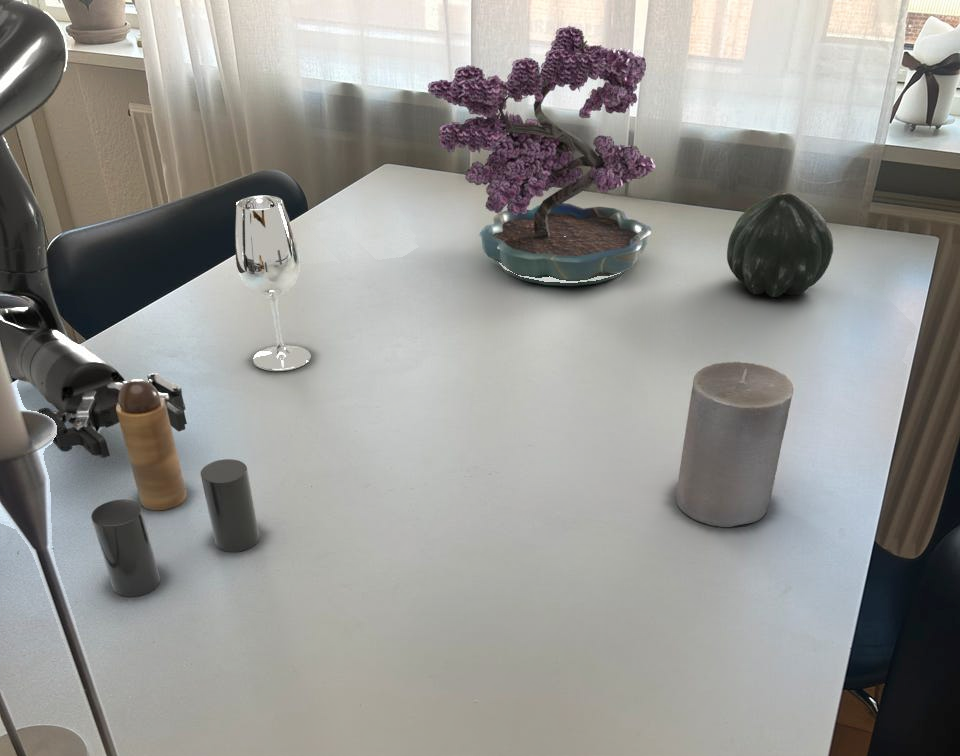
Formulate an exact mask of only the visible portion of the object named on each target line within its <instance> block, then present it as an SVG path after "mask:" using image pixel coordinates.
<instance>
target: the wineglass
mask: <svg viewBox="0 0 960 756" xmlns="http://www.w3.org/2000/svg"><path fill="white" fill-rule="evenodd" d="M235 205H236V206H235V223H234V225H235V227H234V251H235V263H236V268H237V272H238V275H239V277H240V279H241V280H242V283H244V284H245V285H246V287H248V289H250V290H251V291H252V292H254V293H255V294H257V295H260V296H262V297H265V298H267V299H268V301H269V303H270V307H271V312H272V317H273V324H274V330H275V337H276V345H274V346H271V347H266V348H264V349H262V350H260V351H258V352H257V353H256V354H255V355H254V356H253V359H252V361H253V362H252V363H253V364H254V365H255V366H256V367H257V368H259V369H261V370H264V371H270V372H287V371H293V370H296V369H299V368H301V367H303V366H305V365H307V364H308V362H309V361H310V360H311V357H312V356H311V353H310V352H309V350H308V349H306V348H304V347H301V346H299V345H298V346H297V345H289V344H286V345H285V344H284V341H283V336H282V330H281V329H282V328H281V321H280V316H279V297H282V296H283V295H284V294H286V293H287V292H288V291H289V290H291V288H292V287H293V286H294V285H295V284H296V281H297V279H298V278H299V276H300V275H299V274H300V270H301V259H300V255H299V249H298V243H297V241H296V237H295V234H294V231H293V228H292V224H291V221H290V217H289V215H288V212H287V210H286V207H285V204H284V201H283V199H282V198H280V197H278V196H275V195H274V196H273V195H253V196H247V197H245V198H242V199H239V200H238V201H237V202H236V204H235Z"/></svg>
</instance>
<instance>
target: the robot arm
mask: <svg viewBox="0 0 960 756" xmlns="http://www.w3.org/2000/svg"><path fill="white" fill-rule="evenodd" d="M67 60H68V48H67V42H66V38H65V35H64V32H63V31H62V29H61V26H60V25H59V24H58V22H57V21H56V20H55V19H54V18H53V17H52V16H51V15H50V14H49V13H48V12H46V11H44V10H42V9H41V8H39V7H37V6H35V5H33V4H30V3H27V2H24V1H21V0H0V294H5V295H9V296H14V297H21V298H26V299H28V306H18V307H5V308H0V341H1V342H2V345H3V349H4V354H5V357H6V360H7V364H8V367H9V370H10V373H11V376H12V377H11V378H12V379H15V380H18V381H20V382H24V383H29V384H30V385H32V386H33V387H34V388H35V389H36V390H38V392H39V393H40V395H42V397H43V399H45V400H46V402H47V403H49V404H50V405H52V407H54V408H55V409H56V410H51V408H48V407H42V408H39V409H38V410H37V413H38V412H39V413H42V414H45V415H47V416H49V417H50V418H52V419H53V420H54V421H55V423H56V425H57V435H56V437H55V438H54V440H53V441H52V443H53V444H54V445H55V446H56V447H57V448H58V450H60V452H69V451H71V450H72V449H73V447H75V446H79V448H80V449H85V450H86V451H87V452H88V453H89V454H91V456H95V457H98V456H99V457H100V458H101V459H106V458H109V457H110V456H111V455H110V451H109V447H108V444H107V441H106V438H105V437H104V436H103V435H102V434H101V432H102V430H104V428H106V429H107V428H110V427H113V426H115V425H117V424H120V422H119V419H118V415H117V411H116V406H117V404H118V403H119V402H118V395H119V391H120V389H121V388H122V386H123V385H124V384H125V383H127V382H128V381H127V380H126V379H125V377H123V375H122V374H121V373H120V372H119V371H118V370H117V369H116V368H114V367H113V366H112V365H111V364H109V363H108V362H106V361H105V360H104V359H103V358H101V357H99V356H98V355H97V354H96V353H94V352H93V351H92V350H90V349H89V348H87V347H85V346H83V345H81V344H78V343H77V342H76V341H74V340H73V339H72V338H70V337H69V335H68V332H67V328H66V326H65V323H64V320H63V318H62V315H61V313H60V310H59V307H58V305H57V301H56V298H55V293H54V291H53V288H52V287H53V286H52V284H51V279H50V274H49V265H48V250H47V249H48V248H47V235H46V234H47V233H46V226H45V225H46V224H45V221H44V216H43V213H42V209H41V207H40V204H39V202H38V199H37V198H36V196H35V193H34V192H33V189H32V188H31V186H30V185H29V183H28V181H27V179H26V177H25V175H24V173H23V172H22V170H21V169H20V167H19V165H18V163H17V161H16V159H15V157H14V156H13V153H12V152H11V149H10V148H9V146H8V143H7V141H6V138H5V137H4V135H6V134H7V132H9V131H10V130H12V129H14V127H16V126H18V125H19V124H20V123H21V122H23V121H24V120H26V119H28V117H30V116H31V115H33V114H34V113H36V112H37V111H38V110H39V109H41V108H42V107H44V106H45V105H46V104H47V103H48V102H49V101H50V100H51V99H52V98H53V97H54V95H55V93H56V92H57V91H58V90H59V87H60V85H61V83H62V81H63V78H64V75H65V72H66V67H67V62H68V61H67ZM146 377H147V380H148V381H147V382H149V383H151V384H152V385H153V386H154V387H155V388H156V389H157V391H158V393H159V396H160V397H162V398H163V399H164V400H165V403H166V407H167V411H168V416H169V420H170V424H171V428H173V429H174V430H176V431H177V432H182V431H184V430H186V425H187V424H188V423H187V419H186V415H185V410H186V404H185V401H184V397H183V390H182V387H180V386H179V385H177V384H175V383H174V382H172V381H171V380H169V379H167V378H166V377H164V376H162V375H161V374H159V373H157V372H152V373H151V372H150V373H148V374H147V375H146ZM67 422H68V423H69V424H71V425H72V427H68V428H67V426H66V424H65V423H67Z"/></svg>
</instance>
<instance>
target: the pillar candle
mask: <svg viewBox="0 0 960 756" xmlns="http://www.w3.org/2000/svg"><path fill="white" fill-rule="evenodd" d="M691 386H692V387H691V393H690V398H689V405H688V412H687V418H686V426H685V431H684V438H683V445H682V452H681V459H680V464H679V465H680V466H679V472H678V478H677V480H678V481H677V485H676V492H675V502H676V506H678V509H680V511H682V513H683V514H685V515H686V516H688V517H690V518H691V519H692V520H694V521H697V522H700V523H702V524H705V525H708V526H713V527H714V526H716V527H719V528H731V527H736V526H742V525H747V524H752V523H756V522H758V521H760V520H761V519H762V518H764V516H765V515H766V514H767V513H768V510H769V506H770V502H771V498H772V493H773V489H774V485H775V480H776V474H777V471H778V466H779V460H780V455H781V449H782V445H783V440H784V436H785V432H786V429H787V428H786V427H787V424H788V418H789V412H790V408H791V403H792V398H793V395H794V386H793V382H792V381H791V380H790V378H789V377H787V375H786V374H784V373H782V372H780V371H778V370H776V369H773V368H771V367H768V366H765V365H761V364H756V363H753V362H751V363H750V362H741V361H726V362H720V363H713V364H710V365H706V366H703V367H702V368H701V369H699V370H698V371H697V372H696V373H695V374H694V375H693V379H692V385H691Z"/></svg>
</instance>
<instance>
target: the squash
mask: <svg viewBox="0 0 960 756" xmlns="http://www.w3.org/2000/svg"><path fill="white" fill-rule="evenodd" d="M833 254H834V239H833V235H832V232H831V229H830V227H829V225H828V223H827V221H826V220H825V219H824V217H823V216H822V215H821V213H820V212H819V211H818V210H817V209H816V208H814V206H813V205H811V204H810V203H809V202H807V201H806V200H805V199H804V198H802V197H801V196H799V195H797V194H794V193H792V192H788V191H787V192H786V191H782V192H781V191H780V192H777V193H775V194H773V195H772V196H771V195H770V196H769V197H767V198H765V199H762V200H761V201H758V202H756V203H755V204H753V205H751V206H749V208H747V209H746V210H744V212H743V213H742V214H741V215H740V217H738V219H737V220H736V223H735V224H734V228H733V229H732V230H731V233H730V235H729V238H728V242H727V247H726V261H727V265H728V267H729V269H730V271H731V273H732V274H733V275H734V277H735V278H736V279H737V280H738V282H740V283H742V284H744V285H745V286H746V289H747V291H749V293H751V294H752V295H754V296H755V295H756V296H757V295H762V294H764V293H766V295H768V296H769V297H771V298H779V297H780V296H782V295H783V294H784V293H785V294H786V295H789V296H799V295H802V294H803V293H804V292H806V291H807V290H809V288H810V287H812V286H814V285H815V284H816V283H818V282H819V281H820V280H821V279H822V277H823V276H824V275H825V273H826V271H827V269H828V267H829V266H830V263H831V260H832V256H833Z"/></svg>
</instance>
